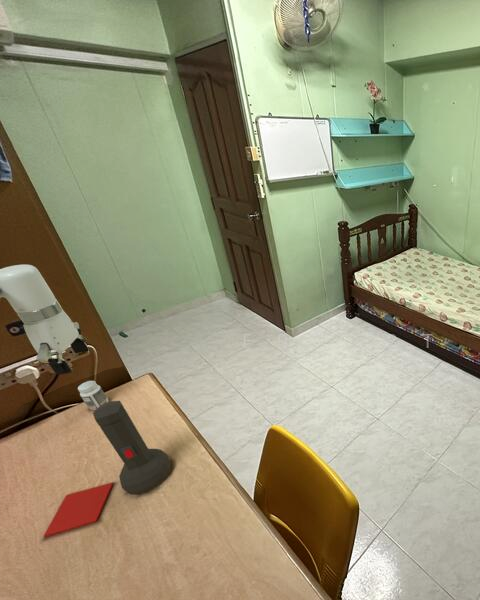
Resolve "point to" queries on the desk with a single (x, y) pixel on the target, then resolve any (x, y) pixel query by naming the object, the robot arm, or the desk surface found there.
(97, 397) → the pill bottle
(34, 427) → the desk surface
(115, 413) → the flashlight
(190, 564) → the desk surface
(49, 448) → the desk surface
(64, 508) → the red pad
